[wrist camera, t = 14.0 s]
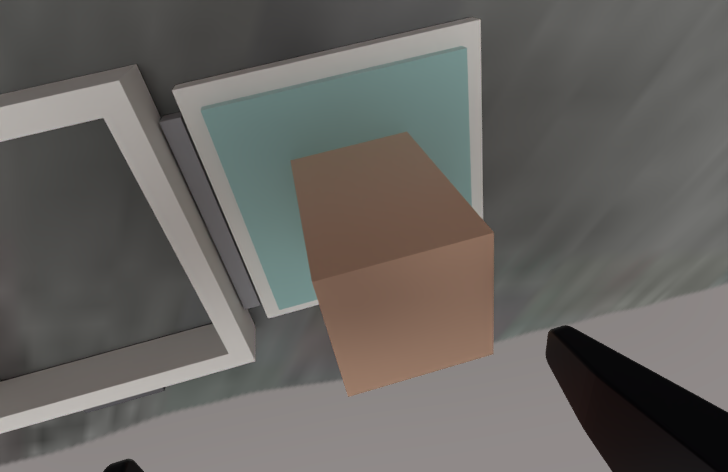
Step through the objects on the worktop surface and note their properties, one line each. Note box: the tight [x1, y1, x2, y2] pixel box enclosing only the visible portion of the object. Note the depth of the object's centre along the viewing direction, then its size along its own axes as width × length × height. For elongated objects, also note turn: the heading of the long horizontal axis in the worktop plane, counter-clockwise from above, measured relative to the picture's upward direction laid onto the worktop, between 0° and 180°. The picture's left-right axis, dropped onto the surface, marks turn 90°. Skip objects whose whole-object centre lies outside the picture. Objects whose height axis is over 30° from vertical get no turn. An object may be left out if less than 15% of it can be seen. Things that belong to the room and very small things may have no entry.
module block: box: [290, 132, 494, 397], centre depth 16 cm, size 5×5×8 cm
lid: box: [159, 17, 483, 318], centre depth 20 cm, size 13×12×1 cm
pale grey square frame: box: [0, 64, 255, 434], centre depth 18 cm, size 14×15×2 cm
